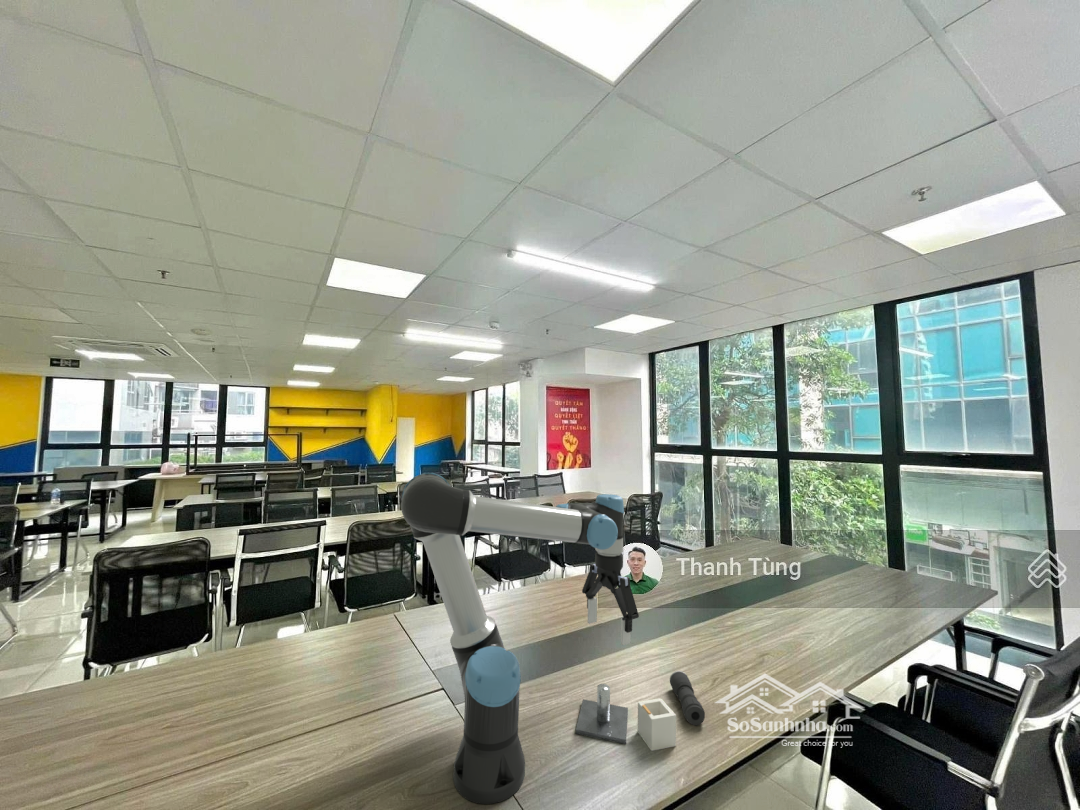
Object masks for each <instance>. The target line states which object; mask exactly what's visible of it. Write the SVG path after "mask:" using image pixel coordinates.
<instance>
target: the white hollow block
mask: <svg viewBox="0 0 1080 810" xmlns="http://www.w3.org/2000/svg"><path fill="white" fill-rule="evenodd" d="M636 729H637V733H638V734H639V736H640V737H641V739H642V740H643V742H645V744H646V745H647V747H648V748H649V750H650V751H653V752H654V751H658V750H663V749H667V748H673V747H677V745H676V744H677V714H676V713H675V712H674V711H673V709H672V708H671V707H669V705H668V704H667V703H666V702H665V701H664V700H663V699H662V698H660V697H659V698H653V699H647V700H643V701H637V728H636Z"/></svg>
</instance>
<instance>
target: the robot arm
mask: <svg viewBox="0 0 1080 810" xmlns="http://www.w3.org/2000/svg"><path fill="white" fill-rule="evenodd" d="M595 499H596V500H595V502H591V503H590V502H589V503H588V502H586V503H583V502H582V503H574V502H572V503H569V502H567V503H560V504H556V506H550V505H544V504H543V505H542V504H537V503H530V502H529V503H528V502H522V501H521V502H520V501H513V500H507V499H499V498H493V497H485V496H477V495H474V493H473V492H472V491H471V490H470V489H469V490H467V489H463V488H462V489H461V488H457V487H454V486H451V485H450V483H449V482H448V481H447V480H446V478H444V477H443V476H441V475H440V474H436V473H433V472H428V473H427V472H425V473H421V474H418V475H416V476H414V477H413V478H411V479H410V480H409V481H408V482H407V483H406V484H405V486H404V488H403V491H402V496H401V503H400V508H401V513H402V516H403V519H404V520H405V521H406V523H407V524H408V525H409V527H410V529H411V532H412V535H413V536H412V537H413V538H414V539H416V540H418V541H420V542H422V544H423V546H424V550H425V552H426V555H427V559H428V561H429V564H430V567H431V570H432V574H433V575H434V578H435V581H436V584H437V588H438V590H439V593H440V596H441V599H442V602H443V605H444V608H445V610H446V614H447V616H448V619H449V620H448V621H449V623H450V625H451V628H452V631H453V632H452V634H451V636H450V640H449V643H450V646H451V649H452V652H453V655H454V657H455V661H456V663H457V666H458V670H459V673H460V679H461V686H462V689H463V690H462V691H463V695H464V696H463V697H464V714H463V715H464V717H463V736H462V739H461V741H460V744H459V747H458V750H457V752H456V756H455V759H454V764H453V775H452V776H453V777H452V778H453V784H454V787H455V789H456V791H457V792H458V793H459V794H460V795H461V796H462V797H463V798H464V799H466V800H468V801H470V802H472V803H476V804H481V805H490V804H496V803H500V802H503V801H505V800H507V799H509V798H511V797H512V796H514V794H516V793H517V792H518V791H519V789H520V788H521V787H522V784H523V782H524V779H525V774H526V769H525V768H526V760H525V759H526V758H525V755H524V752H523V748H522V744H521V740H520V736H519V713H520V712H519V711H520V689H521V688H520V687H521V679H522V678H521V677H522V675H521V670H520V662H519V659H518V658H517V656H516V655H515V654H514V653H513V652H512V651H510V650H507V649H506V648H505V646H504V642H503V639H502V637H501V634H500V632H499V629H498V625H497V623H496V620H495V619H494V617H492V616H489V615H487V612H486V609H485V607H484V604H483V601H482V598H481V595H480V592H479V589H478V586H477V584H476V580H475V577H474V575H473V571H472V569H471V566H470V565H471V564H470V563H469V559H468V557H467V553H466V551H465V548H464V544H463V542H462V539H461V536H464V535H466V533H468V532H472V533H473V532H475V533H484V534H491V535H492V534H494V535H501V536H502V535H503V536H510V537H511V536H512V537H520V538H530V539H537V540H538V539H539V540H548V541H558V542H566V543H567V542H568V543H575V544H581V545H582V544H583V545H590V547H592V548H594V549H595V551H596V552H595V554H594V555H595V557H594V558H595V560H594V563H591V564H590V565H589V569H588V570H589V571H588V573H587V576H586V579H585V582H584V584H583V586H582V590H581V592H582V594H584V595H585V597H586V608H587V624H589V625H590V624H593V623H597V621H598V620H597V619H598V618H597V617H598V616H597V615H598V614H597V613H598V611H597V610H598V598H597V594H598V593H599V591H600V590H601V589H602V588H603V587H604V588H606V589H608V590H609V591H610V592H611V593H612V594H613V596H614V599H615V601H616V602H617V605H618V607H619V611H620V613H621V614H622V617H621V618H620V645H621V646H626V645H629V644H631V639H632V635H631V634H632V631H633V620H636V619H639V618H640V617H639V616H640V615H639V611H638V609H637V608H638V606H637V605H636V600H635V597H634V593H633V591H632V587H631V578H630V576H622V573H621V570H622V569H623V568H624V554H623V552H624V520H625V517H624V514H625V506H624V505H625V504H624V499H623V497H622V496H620V495H617V494H612V493H609V494H608V493H603V494H597V496H596V497H595Z"/></svg>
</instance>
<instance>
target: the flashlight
mask: <svg viewBox="0 0 1080 810" xmlns="http://www.w3.org/2000/svg"><path fill="white" fill-rule="evenodd" d="M669 684H670V686H671V689H672V690H673V693H674V694H675V696H676V699H677V700H679V702H680V705H681V706H680V707H682V708H681V711H682V714H683V717H684V718H685V720H686V721H687V722H688V723H689V724H690V725H693V726H700V725H701V724H703V722H704V721H705V718H706V717H705V715H706V714H705V713H706V712H705V710H704V707H703V706H702V704H701V702H700V701H699V700H698V697H696V696H695V691H694V688H693V686H692V683H691V681H690V678H689V676H688V675H687V674H686V672H684V671H682V670H676V671H674V672H672V673H671V675H670V677H669Z"/></svg>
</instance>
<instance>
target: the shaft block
mask: <svg viewBox="0 0 1080 810" xmlns="http://www.w3.org/2000/svg"><path fill="white" fill-rule="evenodd" d="M596 691H597V692H596V694H597V695H596V701H594V700H588V699H583V698H582V702H581V707H580V710H579V711H580V712H579V715H578V719H577V724H576V728H575V734H576V735H582V736H584V735H585V737H591V738H594V739H599V740H603V741H604V740H605V741H608V742H609V741H610V742H614V743H619V744H624V745H627V737H628V736H627V735H628V717H629V715H628V714H629V707H625V706H620V705H615V704H610V703H611V687H610V685H608V684H606V683H599V684H597V689H596Z"/></svg>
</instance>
